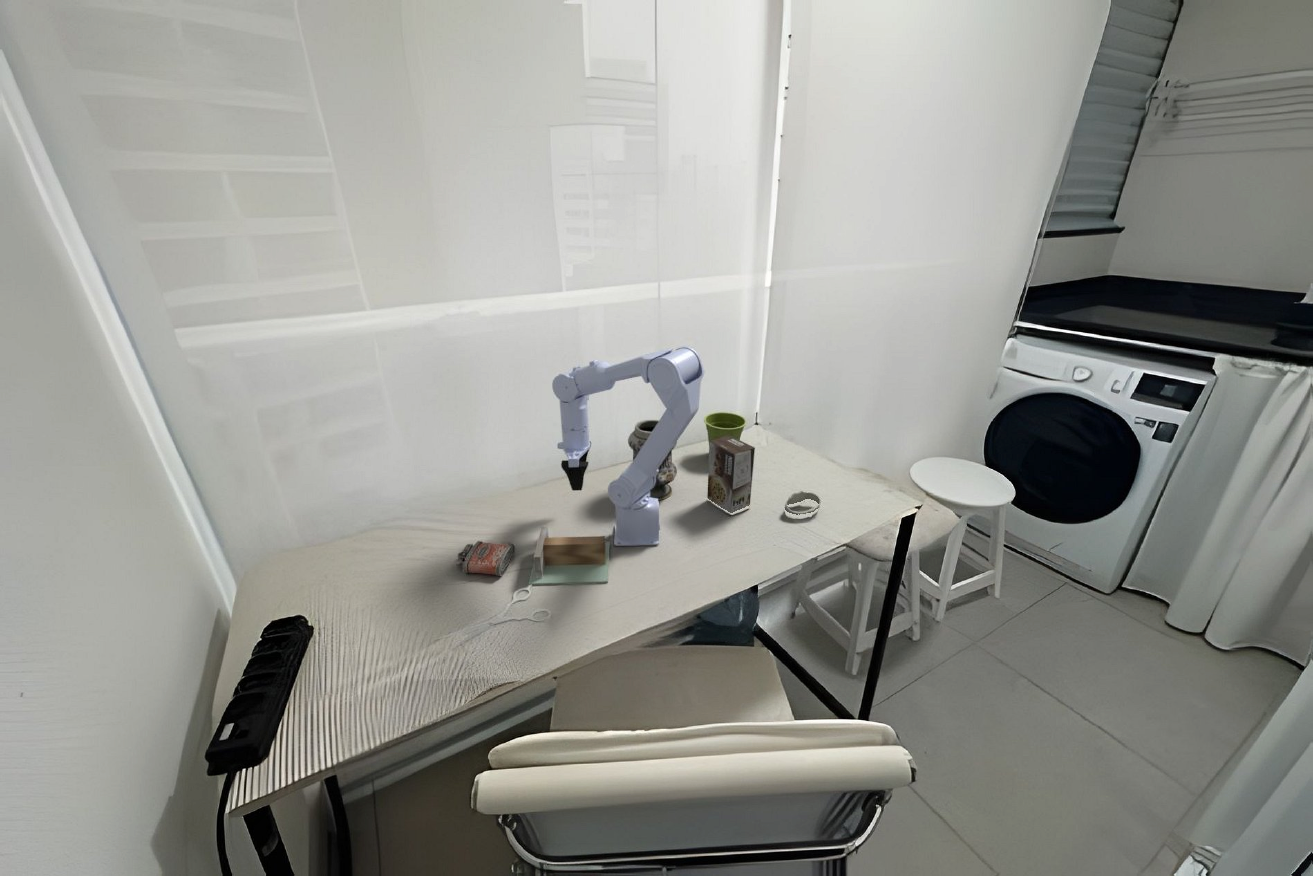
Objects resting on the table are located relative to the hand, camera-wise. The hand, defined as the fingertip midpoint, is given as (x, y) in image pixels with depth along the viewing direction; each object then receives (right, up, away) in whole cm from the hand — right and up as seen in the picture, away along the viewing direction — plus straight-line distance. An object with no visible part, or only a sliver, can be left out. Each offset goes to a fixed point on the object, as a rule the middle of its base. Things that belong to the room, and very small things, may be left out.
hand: (578, 481), depth 119 cm
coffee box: (+35, -7, +9) cm, 37 cm away
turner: (+1, -15, -12) cm, 19 cm away
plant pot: (+37, +4, +33) cm, 49 cm away
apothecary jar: (+16, -4, +15) cm, 22 cm away
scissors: (-11, -23, -26) cm, 36 cm away
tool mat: (0, -16, -12) cm, 19 cm away
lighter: (-12, -15, -13) cm, 23 cm away
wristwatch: (+52, -8, +6) cm, 53 cm away
